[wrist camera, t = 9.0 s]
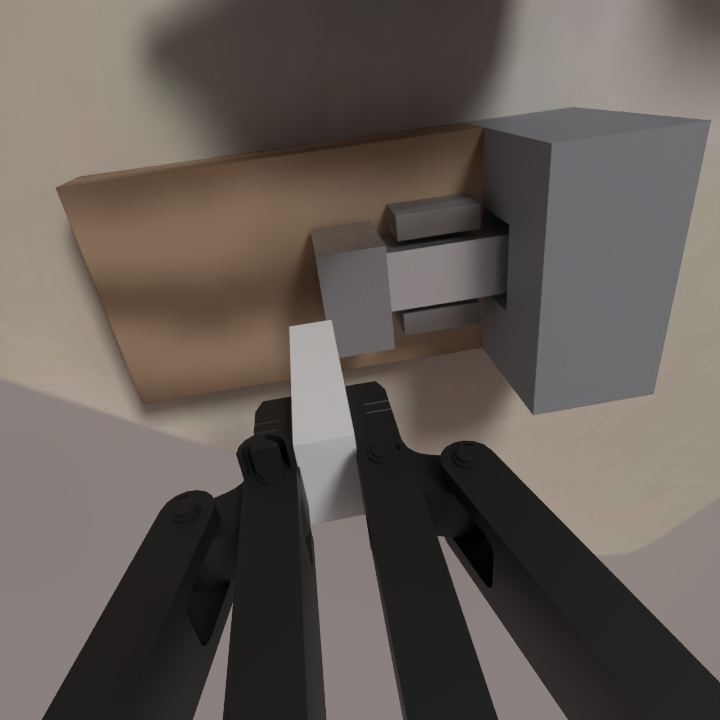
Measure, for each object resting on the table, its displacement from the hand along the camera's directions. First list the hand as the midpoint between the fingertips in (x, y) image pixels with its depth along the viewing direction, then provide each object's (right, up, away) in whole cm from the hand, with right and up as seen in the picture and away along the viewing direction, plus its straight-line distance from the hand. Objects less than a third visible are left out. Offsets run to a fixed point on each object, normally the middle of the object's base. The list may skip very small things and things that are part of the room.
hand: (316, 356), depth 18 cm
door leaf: (-2, +6, +11) cm, 12 cm away
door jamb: (+11, +8, +11) cm, 18 cm away
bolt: (+6, +5, +8) cm, 11 cm away
